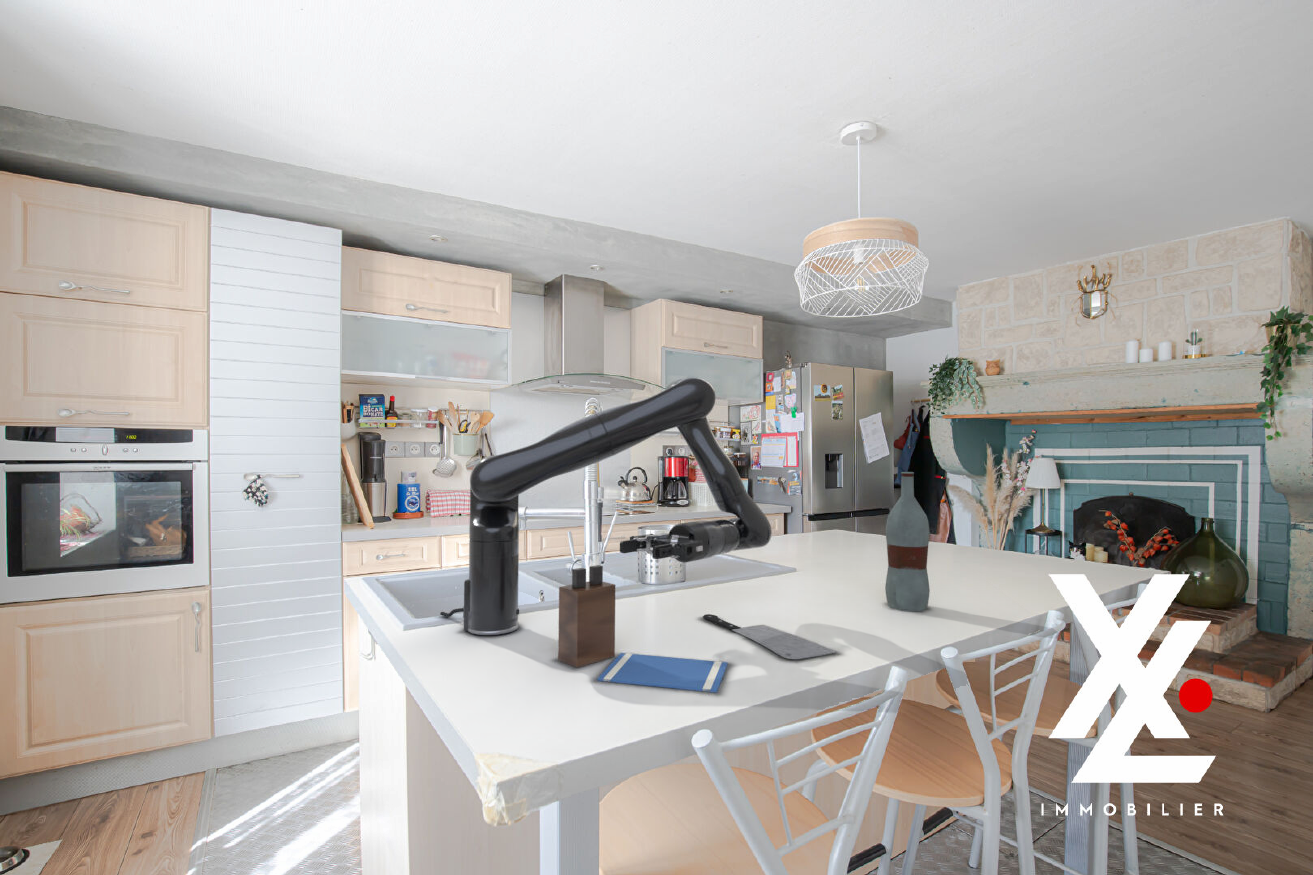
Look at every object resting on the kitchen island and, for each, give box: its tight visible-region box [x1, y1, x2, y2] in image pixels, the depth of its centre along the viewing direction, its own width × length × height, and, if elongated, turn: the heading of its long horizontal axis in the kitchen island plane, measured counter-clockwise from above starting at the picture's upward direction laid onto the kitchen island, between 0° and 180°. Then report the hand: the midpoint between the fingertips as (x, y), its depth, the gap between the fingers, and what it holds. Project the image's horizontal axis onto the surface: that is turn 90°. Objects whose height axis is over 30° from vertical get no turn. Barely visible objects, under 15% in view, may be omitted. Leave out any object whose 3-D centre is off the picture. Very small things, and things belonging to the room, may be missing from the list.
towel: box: [597, 652, 728, 694], centre depth 98 cm, size 18×12×1 cm, turn 76°
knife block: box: [557, 564, 616, 669], centre depth 104 cm, size 5×8×15 cm, turn 135°
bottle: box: [884, 471, 931, 612], centre depth 140 cm, size 9×9×30 cm
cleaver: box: [702, 613, 837, 660], centre depth 118 cm, size 29×1×10 cm
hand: (637, 550), depth 112 cm, fingers open, 8 cm apart
